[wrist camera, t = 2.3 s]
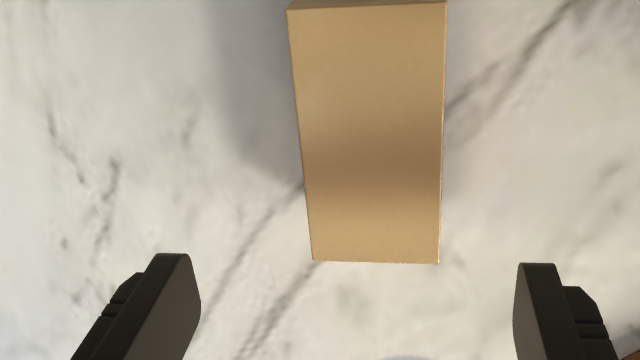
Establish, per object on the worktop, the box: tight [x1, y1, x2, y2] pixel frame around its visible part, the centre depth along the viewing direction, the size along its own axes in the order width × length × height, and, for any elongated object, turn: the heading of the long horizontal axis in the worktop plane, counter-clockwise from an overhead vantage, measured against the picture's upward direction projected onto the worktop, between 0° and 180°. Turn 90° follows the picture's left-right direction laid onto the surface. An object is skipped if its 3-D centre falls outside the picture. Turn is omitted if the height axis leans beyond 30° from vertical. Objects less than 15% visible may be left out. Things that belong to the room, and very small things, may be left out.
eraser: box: [285, 0, 448, 264], centre depth 22 cm, size 10×5×4 cm, turn 5°
